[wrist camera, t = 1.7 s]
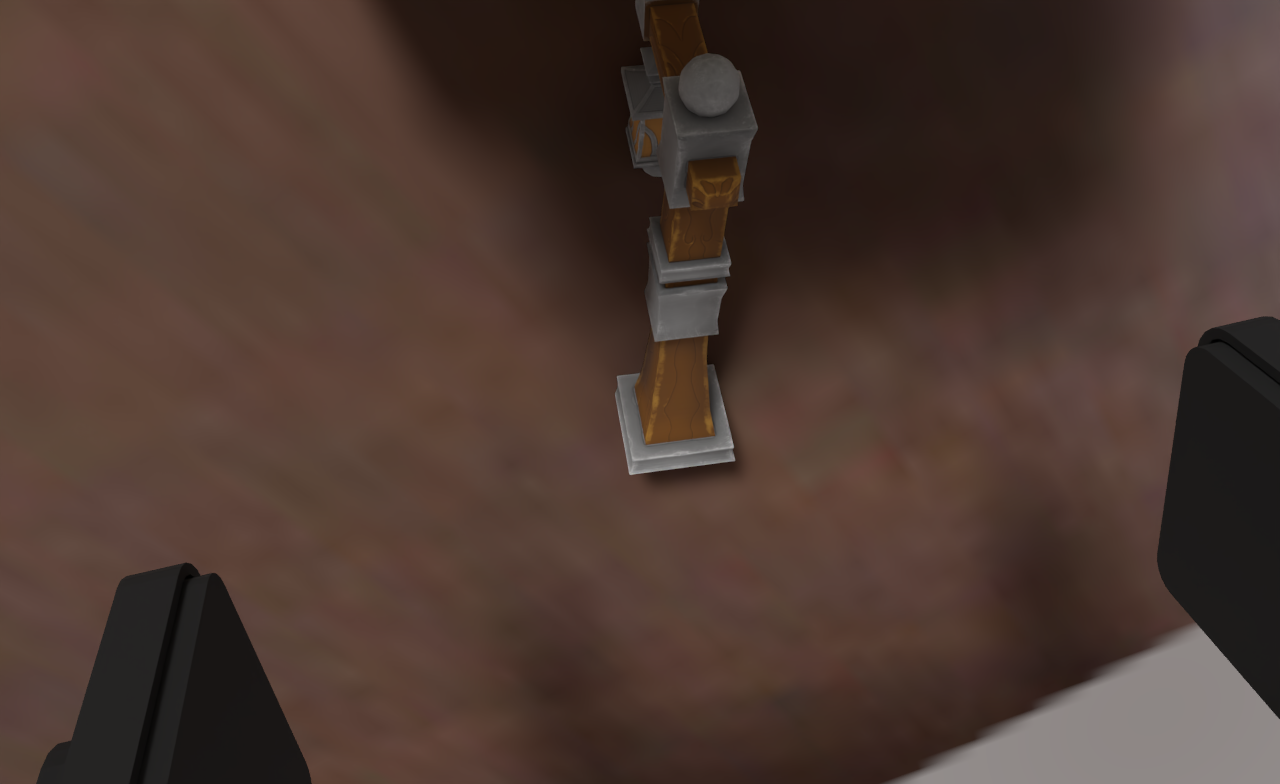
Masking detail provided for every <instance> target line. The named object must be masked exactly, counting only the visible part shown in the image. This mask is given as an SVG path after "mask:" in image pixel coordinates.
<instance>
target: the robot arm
mask: <svg viewBox="0 0 1280 784" xmlns="http://www.w3.org/2000/svg"><path fill="white" fill-rule="evenodd" d="M1157 562H1158V568H1159V572H1160V575H1161V578H1162V580H1163V582H1164V584H1165V586H1166V587H1167V589H1168V590H1169V592H1170V593H1171V594H1172V595H1173V597H1174V598H1175V599H1176V600H1177V601H1178V602H1179V604H1180V605H1181V606H1182V607H1183V608H1184V609H1185V610H1186V612H1187V613H1188V614H1189V615H1190V616H1191V617H1192V619H1193V620H1194V621H1195V622H1196V623H1197V624H1198V625H1199V627H1200V628H1201V629H1202V630H1203V631H1204V632H1205V634H1206V635H1207V636H1208V637H1209V638H1210V639H1211V640H1212V642H1213V643H1214V644H1215V645H1216V646H1217V647H1218V649H1219V650H1220V651H1221V652H1222V653H1223V654H1224V656H1225V657H1226V658H1227V659H1228V660H1229V661H1230V662H1231V663H1232V665H1233V666H1234V667H1235V668H1236V669H1237V671H1238V672H1239V673H1240V674H1241V675H1242V676H1243V678H1244V679H1245V680H1246V681H1247V682H1248V683H1249V684H1250V686H1251V687H1252V688H1253V689H1254V690H1255V691H1256V693H1257V694H1258V695H1259V696H1260V697H1261V698H1262V699H1263V701H1264V702H1265V703H1266V704H1267V705H1268V706H1269V708H1270V709H1271V710H1272V711H1273V712H1274V713H1275V714H1276V716H1277V717H1278V718H1279V719H1280V320H1278V319H1276V318H1274V317H1259V318H1254V319H1250V320H1246V321H1241V322H1237V323H1232V324H1228V325H1224V326H1219V327H1215V328H1211V329H1210V330H1208V331H1206V332H1205V333H1204V334H1203V335H1202V337H1201V338H1200V340H1199V344H1198V347H1195V348H1193V349H1191V350H1190V351H1189V353H1188V354H1187V356H1186V359H1185V363H1184V370H1183V377H1182V384H1181V391H1180V398H1179V405H1178V412H1177V419H1176V426H1175V433H1174V440H1173V447H1172V454H1171V461H1170V468H1169V475H1168V482H1167V489H1166V496H1165V503H1164V510H1163V517H1162V524H1161V531H1160V538H1159V545H1158V553H1157ZM36 784H312V783H311V777H310V773H309V770H308V767H307V764H306V761H305V759H304V757H303V755H302V753H301V751H300V748H299V746H298V744H297V742H296V740H295V737H294V735H293V733H292V731H291V729H290V727H289V724H288V722H287V720H286V718H285V716H284V713H283V711H282V709H281V707H280V705H279V703H278V700H277V698H276V696H275V694H274V692H273V690H272V687H271V685H270V683H269V681H268V679H267V676H266V674H265V672H264V670H263V668H262V666H261V663H260V661H259V659H258V657H257V655H256V652H255V650H254V648H253V646H252V644H251V642H250V639H249V637H248V635H247V633H246V631H245V629H244V626H243V624H242V622H241V620H240V618H239V615H238V613H237V611H236V609H235V607H234V605H233V602H232V600H231V598H230V596H229V594H228V591H227V589H226V587H225V585H224V583H223V581H222V580H221V578H220V577H219V576H218V575H217V574H215V573H211V574H206V575H202V576H200V574H199V572H198V570H197V569H196V568H195V567H194V566H193V565H192V564H190V563H183V564H178V565H174V566H170V567H165V568H161V569H156V570H152V571H148V572H143V573H139V574H135V575H130V576H126V577H125V578H123V579H122V580H121V581H120V583H119V585H118V587H117V590H116V594H115V597H114V600H113V604H112V607H111V610H110V614H109V617H108V620H107V624H106V627H105V630H104V634H103V637H102V640H101V644H100V647H99V650H98V654H97V657H96V660H95V664H94V667H93V670H92V674H91V677H90V680H89V684H88V687H87V690H86V694H85V697H84V700H83V704H82V707H81V710H80V714H79V717H78V720H77V724H76V727H75V731H74V734H73V737H72V741H68V742H64V743H60V744H57V745H56V746H55V747H54V748H53V749H52V750H51V751H50V752H49V753H48V755H47V757H46V759H45V762H44V764H43V766H42V768H41V771H40V774H39V777H38V780H37V783H36Z"/></svg>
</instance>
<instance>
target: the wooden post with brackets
mask: <svg viewBox="0 0 1280 784" xmlns="http://www.w3.org/2000/svg"><path fill="white" fill-rule="evenodd" d="M635 8H636V12H637V16H638V20H639V24H640V29H641V33H642V37H643V41H650V42H651V46H652V47H643V48H640V50H641V54H642V58H643V62H644V65H637V66H626V67H621V75H622V79H623V83H624V88H625V92H626V96H627V101H628V105H629V109H630V118H629V122H628V127H626V135H627V139H628V144H629V148H630V153H631V157H632V162H633V166H634V169H635V168H643V170H644V172H646V173H648V174H649V175H651V176H654V177H662V179H663V183H664V196H663V203H662V211H661V216H657V217H649V220H650V226H649V228H648V229H647V233H648V237H649V243H647V248H648V253H649V274H648V283H647V285H646V288H645V290H644V293H645V298H646V303H647V307H648V312H649V317H650V322H651V330H650V334H649V339H648V343H647V348H646V352H645V357H644V361H643V366H642V370H641V372H640V373H637V374H629V375H621V376H617V381H618V388H617V390H616V392H615V397H616V403H617V408H618V414H619V419H620V424H621V430H622V435H623V441H624V446H625V452H626V457H627V463H628V468H629V474H630V475H632V474H639V473H647V472H654V471H662V470H670V469H677V468H685V467H692V466H700V465H708V464H715V463H723V462H730V461H735V458H734V454H733V448H734V445H733V441H732V437H731V433H730V429H729V424H728V420H727V416H726V412H725V408H724V404H723V400H722V396H721V392H720V388H719V384H718V379H717V375H716V371H715V367H714V364H711V365H707V345H708V335H716V334H719V331H718V322H717V320H718V315H719V310H720V304H721V299H722V297H723V295H724V293H725V292H726V290H727V289H728V287H727V283H726V280H725V277H728V276H730V273H729V267H730V265H731V264H732V263H731V260H730V256H729V252H728V248H727V245H726V241H725V237H724V232H725V226H726V220H727V214H728V208H729V207H733V206H737V205H738V202H739V201H744V195H743V182H744V176H745V171H746V166H747V161H748V156H749V150H750V145H751V141H752V139H753V137H754V135H755V133H756V132H757V130H758V126H757V123H756V120H755V117H754V113H753V110H752V107H751V104H750V100H749V97H748V94H747V91H746V88H745V84H744V81H743V78H742V75H741V71H740V70H736V69H735V67H734V66H733V64H732V63H731V62H730V61H729V60H728V59H726V58H725V57H723V56H721V55H719V54H710V53H708V52H707V48H706V45H705V41H704V37H703V34H702V30H701V27H700V23H699V20H698V9H699V0H635Z"/></svg>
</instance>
